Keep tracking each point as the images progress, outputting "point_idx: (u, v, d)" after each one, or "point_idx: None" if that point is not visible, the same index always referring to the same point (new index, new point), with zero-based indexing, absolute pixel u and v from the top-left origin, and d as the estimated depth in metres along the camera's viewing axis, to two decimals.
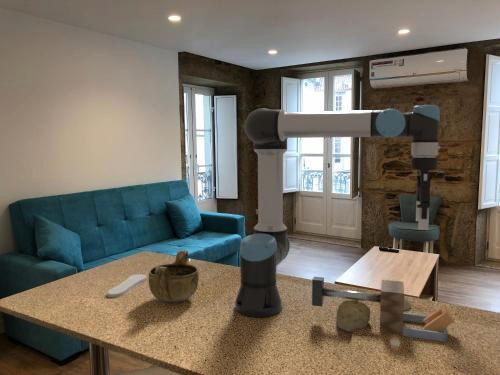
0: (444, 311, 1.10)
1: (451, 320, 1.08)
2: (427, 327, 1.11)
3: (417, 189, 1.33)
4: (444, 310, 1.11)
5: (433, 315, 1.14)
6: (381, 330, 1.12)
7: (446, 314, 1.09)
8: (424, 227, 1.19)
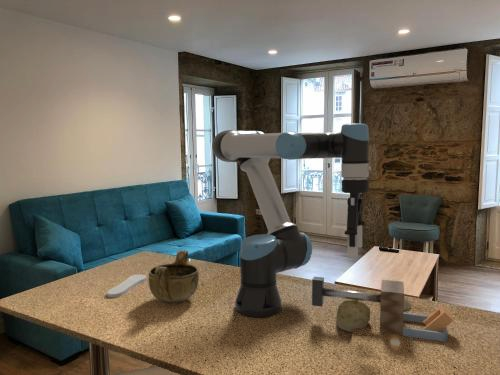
0: (442, 311, 1.10)
1: (450, 319, 1.09)
2: (427, 328, 1.11)
3: None
4: (442, 310, 1.11)
5: (432, 316, 1.14)
6: (381, 330, 1.12)
7: (444, 314, 1.09)
8: (353, 255, 1.10)
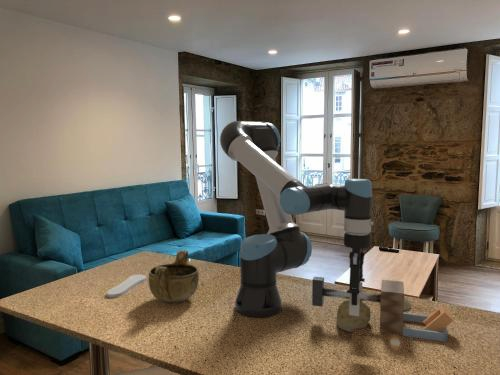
0: (442, 311, 1.10)
1: (450, 319, 1.09)
2: (427, 328, 1.11)
3: None
4: (442, 310, 1.11)
5: (432, 316, 1.14)
6: (381, 330, 1.12)
7: (444, 314, 1.09)
8: (355, 313, 1.13)
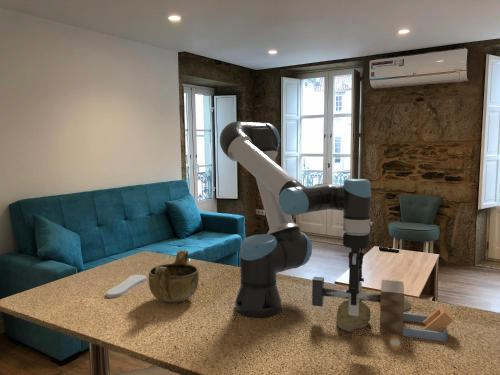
0: (442, 311, 1.10)
1: (450, 319, 1.09)
2: (427, 328, 1.11)
3: None
4: (442, 310, 1.11)
5: (432, 316, 1.14)
6: (381, 330, 1.12)
7: (444, 314, 1.09)
8: (354, 313, 1.13)
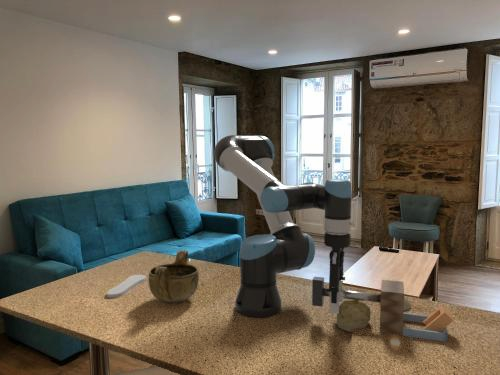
0: (442, 311, 1.10)
1: (450, 319, 1.09)
2: (427, 328, 1.11)
3: None
4: (442, 310, 1.11)
5: (432, 316, 1.14)
6: (381, 330, 1.12)
7: (444, 314, 1.09)
8: (335, 311, 1.16)
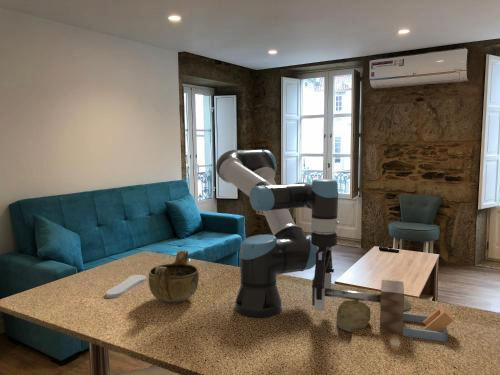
0: (442, 311, 1.10)
1: (450, 319, 1.09)
2: (427, 328, 1.11)
3: None
4: (442, 310, 1.11)
5: (432, 316, 1.14)
6: (381, 330, 1.12)
7: (444, 314, 1.09)
8: (320, 307, 1.15)
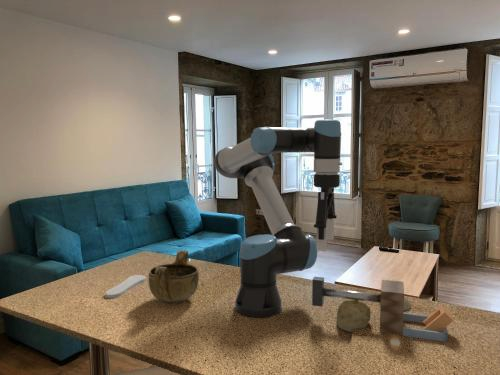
0: (442, 311, 1.10)
1: (450, 319, 1.09)
2: (427, 328, 1.11)
3: None
4: (442, 310, 1.11)
5: (432, 316, 1.14)
6: (381, 330, 1.12)
7: (444, 314, 1.09)
8: (322, 248, 1.14)
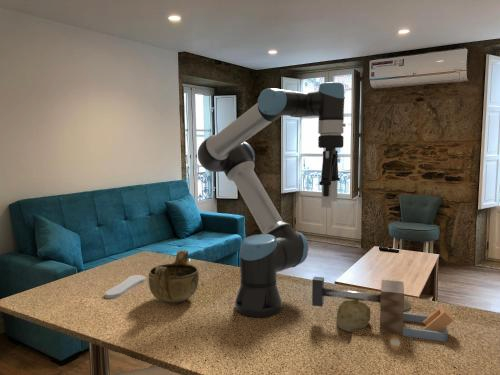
0: (442, 311, 1.10)
1: (450, 319, 1.09)
2: (427, 328, 1.11)
3: None
4: (442, 310, 1.11)
5: (432, 316, 1.14)
6: (381, 330, 1.12)
7: (444, 314, 1.09)
8: (327, 205, 1.19)
